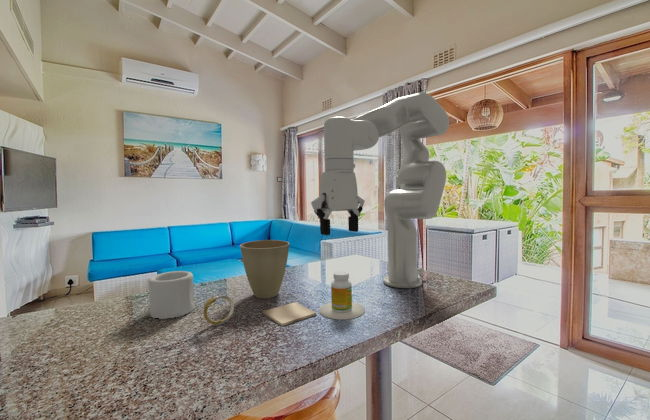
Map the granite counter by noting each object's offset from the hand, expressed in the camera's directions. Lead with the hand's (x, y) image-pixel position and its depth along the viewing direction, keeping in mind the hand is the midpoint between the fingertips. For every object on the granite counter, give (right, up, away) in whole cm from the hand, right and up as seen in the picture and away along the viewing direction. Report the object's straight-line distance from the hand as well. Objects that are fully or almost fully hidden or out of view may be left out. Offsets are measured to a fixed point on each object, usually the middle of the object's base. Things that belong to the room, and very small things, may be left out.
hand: (339, 232), depth 80 cm
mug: (-46, -22, +4) cm, 51 cm away
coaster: (+1, -21, +1) cm, 21 cm away
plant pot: (-22, -21, +15) cm, 34 cm away
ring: (-29, -22, -6) cm, 37 cm away
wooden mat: (-13, -21, -1) cm, 25 cm away
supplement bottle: (+1, -21, +1) cm, 21 cm away
